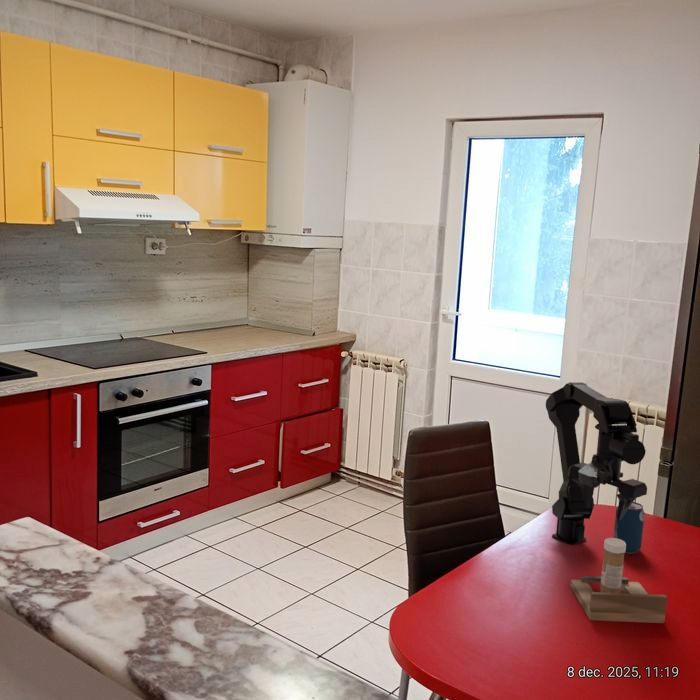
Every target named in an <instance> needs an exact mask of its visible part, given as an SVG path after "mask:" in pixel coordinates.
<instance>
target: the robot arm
mask: <svg viewBox="0 0 700 700" xmlns="http://www.w3.org/2000/svg"><path fill="white" fill-rule="evenodd" d="M583 406H584V407H585V408H586V409H588V410H590V411H591V412H593V418H594V419H595V420H596V421H597V424H595V426H594V428H595V429H596V430H598V435H597V446H596V453H594V454H592V458H591V461H590V463H585V462H581V458H580V452H579V451H580V450H579V443H578V438H577V430H576V424H577V421H578V419H579V418H580V413H581V412H580V411H581V410H580V409H581V408H582V407H583ZM545 409H546V410H547V415H548V419H549V421H550V422H551V423H552V425H553V426H554V427H555V428H556V429H555V430H556V434H557V435H556V436H557V443H558V450H559V457H560V459H559V460H560V467H561V472H562V481H563V482H562V484H561V486H560V488H559V490H558V499H557V500H556V501H555V502H554V503H553V504H552V506H551V510H552V511H551V512H552V515H553V516H555V518H556V520H557V522H556V531H555V533H553V534H551V536H552V538H555V539H557V540H559V541H560V542H564V543H566V544H568V545H575V544H579V543H582V542H585V541H587V538H586V537H585V528H586V525H585V520H586V519H587V520H589V519H590V518H591V517H592V513H593V512H594V511H593V510H594V507H595V500H594V491H595V488H598V487H599V486H600V485H610V486H613V487H616V488H617V491H618V494H616V498H618V505H617V507H618V520H621V519H622V518H623V516H624V515H625V513H626V512H627V510H628V508H629V507H630V505H631V504H632V503H633V502H635V500H636V499H637V498H640V497H643V496H646V495H647V494H648V487H647V486H648V485H647V484H646V483H645V482H643V481H640V480H637V479H634V478H631V479H627V480H622V479H621V478H623V477H624V472H621V466H622V462H625V463H627V464H629V465H637V464H639V463H640V462H642V461H643V459H644V458H645V456H646V449H645V445H644V443H643V442H642V441H641V440H639V439H640V435H639V434H637V432H638V428H637V423H636V420H635V418H634V414H633V412H632V408H631V407H630V403H628V401H626V400H623V399H620V398H613V397H607V396H606V395H604V394H602V393H600V392H598V391H597V390H595V389H594V388H591V387H589V386H588V385H587V383H584V382H580V381H579V382H571V381H569V382H567V383H565V385H564V386H562V387H560V388H559V389H557V390H555V391H553V392H552V393H551V394H550V396H548V397H547V398H546V400H545Z"/></svg>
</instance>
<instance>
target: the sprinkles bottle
mask: <svg viewBox="0 0 700 700" xmlns="http://www.w3.org/2000/svg"><path fill="white" fill-rule="evenodd" d="M603 542H604V543H603V550H604V551H603V561H602V568H601V576H600V577H601V583H600V588H599V589H600V590H599V592H604V593H621V591H622V590H621V584H622V578H623V574H624V561H625V554H626V553H625V551H626V543H625V542H624V541H623V540H621V539H617V538H613V537H606V538H605V539H604V541H603Z"/></svg>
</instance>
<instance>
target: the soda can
mask: <svg viewBox="0 0 700 700" xmlns="http://www.w3.org/2000/svg"><path fill="white" fill-rule="evenodd" d="M645 515H646V513H645V511H644V506H643V504H640V503H638V502H636V501H633V503H632V504H631V505H630V507H629V508H628V510H627V512H626V513H625V515H624V516H623V518H622V519H621V520H618V506H617V507H616V509H615V516H614V517H615V518H614V526H613V537H612V538H617V539H621V540H623V541H624V542H625V543H626V551H625V554H629V555H632V554H637V553H638V552H639V551H640V550H641V548H642V543H643V532H644V526H645V525H644V523H645Z"/></svg>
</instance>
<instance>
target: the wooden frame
mask: <svg viewBox="0 0 700 700" xmlns="http://www.w3.org/2000/svg"><path fill="white" fill-rule="evenodd" d="M589 583H594V584H595V583H597V584H599V583H600V584H601V576H594V575H593V576H592V575H591V576H590V575H580V579H570V584H569V587H570V589H571V590H572V592H573V594H574V595H575V597H576V599H577V601H578V602H579V604H580V606H581V608H582V609H583V611H584V613H585V614H586V615H587V617H588V619H589V620H590V621H601V622H625V623H626V622H628V623H629V622H630V623H632V622H633V623H653V624H664V623H665V617H666V610H667V602H668V597H667V595H666V594H648V593H649V592H648V591H646V589H645V588H644V586H642V584H641V583H640V582H639V581H630V580H629V578H628V577H622V584H621V590H620V591H621V592H620V593H604V592H600V591H599V592H598V591H597V592H596V591H594V590H593V588H592V587H591V586H590V585H591V584H589Z"/></svg>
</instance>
